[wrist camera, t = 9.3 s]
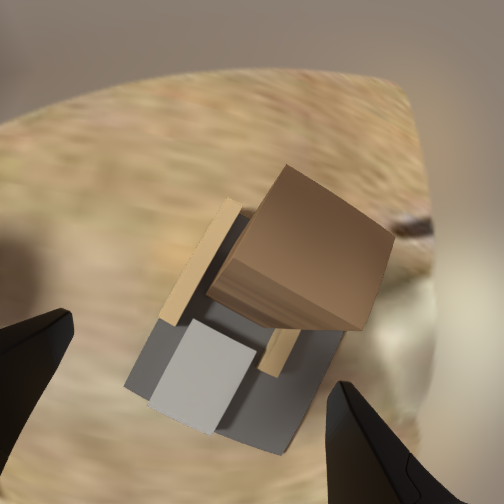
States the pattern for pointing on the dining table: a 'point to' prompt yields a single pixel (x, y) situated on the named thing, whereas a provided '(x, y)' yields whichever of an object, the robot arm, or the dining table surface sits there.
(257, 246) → the wooden block
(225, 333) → the underlay
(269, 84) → the dining table surface
